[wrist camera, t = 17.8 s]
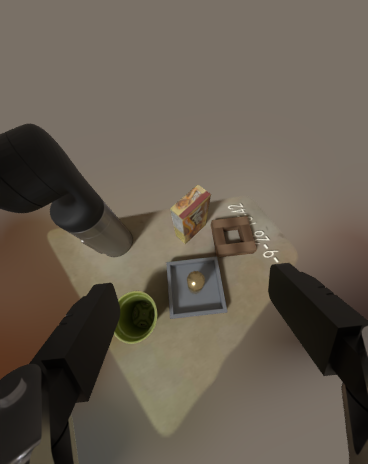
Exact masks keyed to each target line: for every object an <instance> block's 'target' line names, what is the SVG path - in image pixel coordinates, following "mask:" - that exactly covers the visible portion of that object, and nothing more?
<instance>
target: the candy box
mask: <svg viewBox="0 0 368 464" xmlns="http://www.w3.org/2000/svg"><path fill="white" fill-rule="evenodd" d="M210 196H211V194H210V193H208V192H207V191H206V190H204V189H203V188H202V187H201V186H199V185H197V186H196V187H195V188H193V189H192V190H191V191H190V192H189V193H188V194H186V195H185V196H184V197H183V198H182V199H181V200H180V201H178V202H177V203H176V204H175V205H174V206H173V207H172V208H170V210H171V215H172V219H173V224H174V228H175V233H176V236H177V237H178V238H179V239H180V240H181V241H182V242H184V243H185V244H186V243H187V242H188V241H189V240H190V239H191V238H192V237H193V236H194V235H195V234H196V233H197V232H198V231H199V230H201V229H202V228H203V227H204V226H205V225H206V219H207V213H208V207H209V202H210Z"/></svg>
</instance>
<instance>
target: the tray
mask: <svg viewBox="0 0 368 464" xmlns="http://www.w3.org/2000/svg"><path fill="white" fill-rule="evenodd" d="M193 271H199V272H201V273H202V274H203V275H204V278H205V283H204V286H203V288H202V290H201V291H200V293H198V294H192V293H191V292H190V291H189V289H188V284H187V277H188V275H189V274H190V273H191V272H193ZM167 277H168V293H169V308H170V319H173V318H181V317H190V316H199V315H208V314H216V313H225V312H227V308H226V302H225V297H224V292H223V286H222V281H221V276H220V270H219V265H218V260H217V257H209V258H200V259H191V260H182V261H174V262H167Z"/></svg>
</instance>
